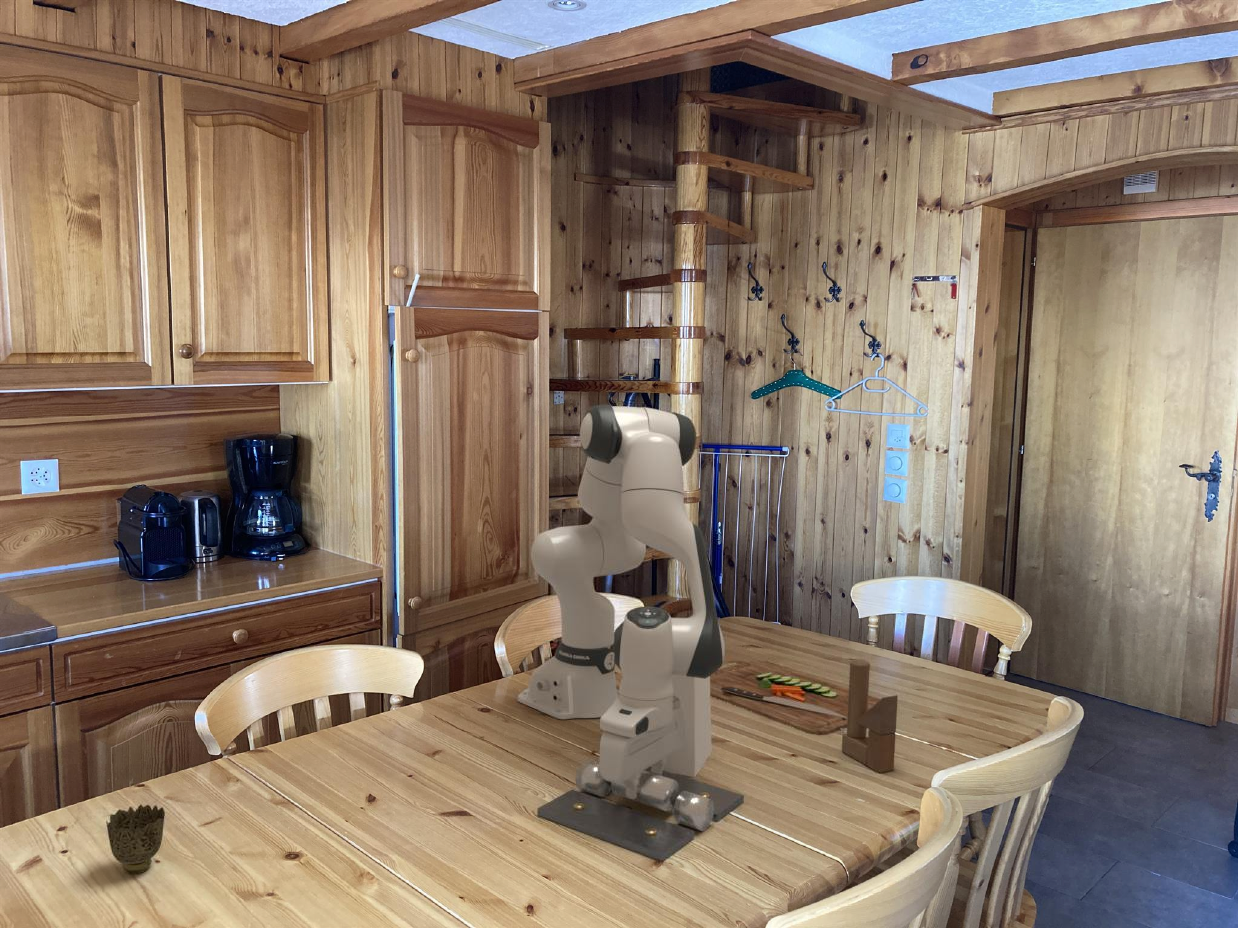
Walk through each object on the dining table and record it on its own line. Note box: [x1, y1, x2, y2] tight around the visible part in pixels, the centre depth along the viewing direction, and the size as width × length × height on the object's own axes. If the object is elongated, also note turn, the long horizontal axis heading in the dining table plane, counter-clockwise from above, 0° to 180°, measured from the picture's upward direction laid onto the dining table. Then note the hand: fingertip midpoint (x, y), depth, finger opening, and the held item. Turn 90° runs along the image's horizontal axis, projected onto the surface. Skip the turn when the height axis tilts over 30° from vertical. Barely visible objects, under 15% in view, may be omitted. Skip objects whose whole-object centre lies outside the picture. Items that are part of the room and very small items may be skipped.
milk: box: [650, 675, 712, 778], centre depth 182 cm, size 12×12×26 cm
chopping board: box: [710, 660, 881, 736], centre depth 219 cm, size 45×27×3 cm, turn 40°
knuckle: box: [611, 770, 679, 812], centre depth 163 cm, size 10×5×5 cm, turn 55°
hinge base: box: [536, 759, 745, 863], centre depth 163 cm, size 24×25×5 cm
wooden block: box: [841, 659, 899, 774], centre depth 183 cm, size 4×11×18 cm, turn 26°
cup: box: [105, 804, 166, 874], centre depth 141 cm, size 8×7×8 cm
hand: (643, 790), depth 163 cm, fingers closed on knuckle, 5 cm apart
